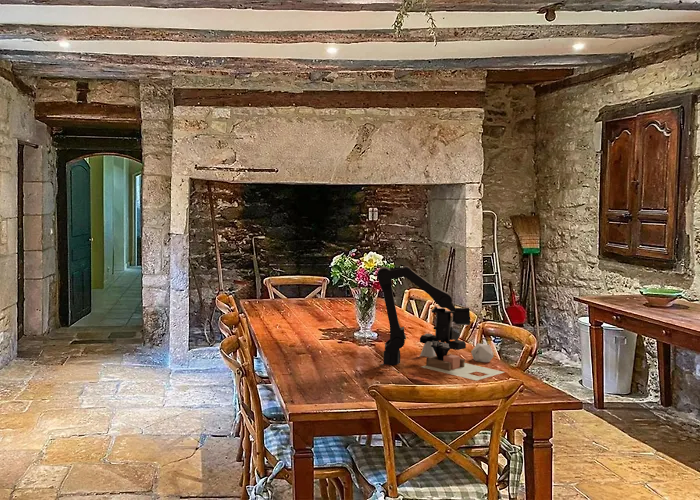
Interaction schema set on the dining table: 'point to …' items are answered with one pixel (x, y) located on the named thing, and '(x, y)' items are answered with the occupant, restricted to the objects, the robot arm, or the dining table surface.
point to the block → (453, 361)
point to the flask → (428, 350)
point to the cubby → (441, 363)
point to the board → (468, 371)
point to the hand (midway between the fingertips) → (441, 363)
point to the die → (482, 353)
